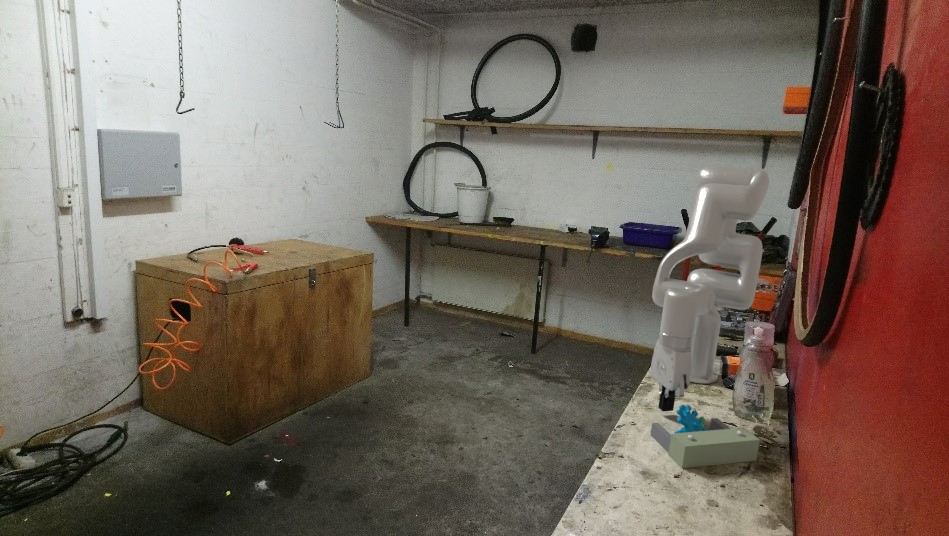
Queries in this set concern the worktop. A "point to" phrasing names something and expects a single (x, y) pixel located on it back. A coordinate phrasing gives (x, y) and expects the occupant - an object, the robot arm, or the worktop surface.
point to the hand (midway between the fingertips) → (665, 409)
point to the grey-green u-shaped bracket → (708, 445)
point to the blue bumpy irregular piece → (689, 420)
